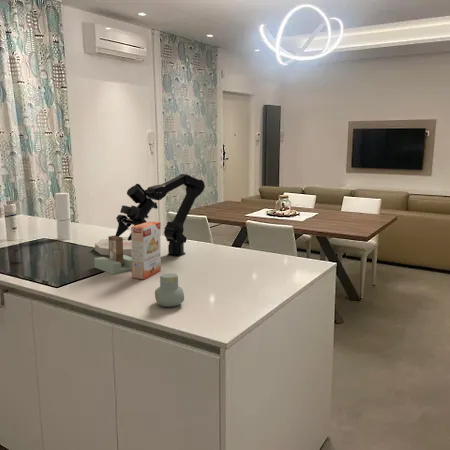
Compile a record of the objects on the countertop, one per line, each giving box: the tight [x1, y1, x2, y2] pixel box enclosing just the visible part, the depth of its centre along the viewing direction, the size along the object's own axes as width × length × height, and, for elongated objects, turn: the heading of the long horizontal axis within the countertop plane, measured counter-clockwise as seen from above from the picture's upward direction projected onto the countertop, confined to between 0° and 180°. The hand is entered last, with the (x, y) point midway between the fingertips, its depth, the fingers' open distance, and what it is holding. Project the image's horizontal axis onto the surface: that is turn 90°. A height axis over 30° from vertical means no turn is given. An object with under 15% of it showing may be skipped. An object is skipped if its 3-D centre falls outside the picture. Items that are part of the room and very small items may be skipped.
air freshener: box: [154, 272, 185, 308], centre depth 150 cm, size 11×8×10 cm
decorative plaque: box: [94, 236, 132, 257], centre depth 227 cm, size 30×4×30 cm
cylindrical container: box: [54, 192, 72, 241], centre depth 247 cm, size 7×7×25 cm
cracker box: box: [130, 221, 162, 280], centre depth 182 cm, size 14×6×21 cm, turn 160°
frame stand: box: [94, 255, 132, 275], centre depth 193 cm, size 14×12×4 cm
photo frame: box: [107, 234, 124, 267], centre depth 192 cm, size 6×3×12 cm, turn 47°
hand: (122, 238), depth 193 cm, fingers open, 9 cm apart
